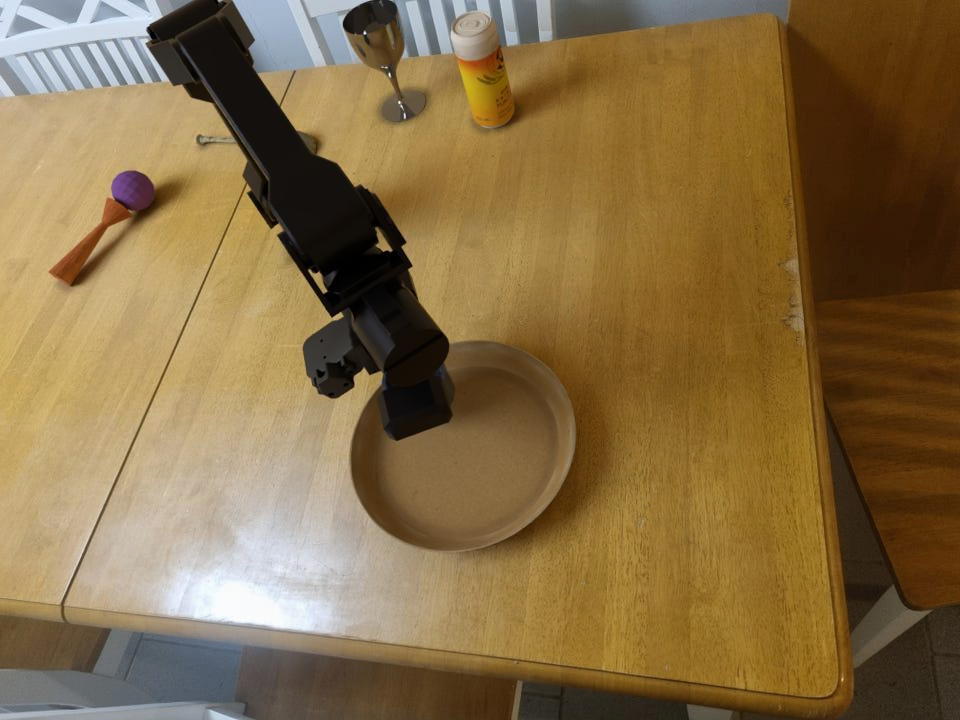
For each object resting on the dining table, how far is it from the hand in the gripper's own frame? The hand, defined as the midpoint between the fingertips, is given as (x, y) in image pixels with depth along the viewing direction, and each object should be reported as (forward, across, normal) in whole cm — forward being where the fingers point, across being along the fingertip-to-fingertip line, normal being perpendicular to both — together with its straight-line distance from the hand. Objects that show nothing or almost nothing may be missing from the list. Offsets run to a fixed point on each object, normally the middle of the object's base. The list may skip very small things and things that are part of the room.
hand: (423, 389), depth 78 cm
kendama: (+5, -49, -40) cm, 63 cm away
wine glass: (+5, -54, +8) cm, 55 cm away
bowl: (+2, 0, 0) cm, 2 cm away
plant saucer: (+5, +6, +2) cm, 8 cm away
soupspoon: (+5, -57, -16) cm, 59 cm away
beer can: (+5, -44, +20) cm, 49 cm away
